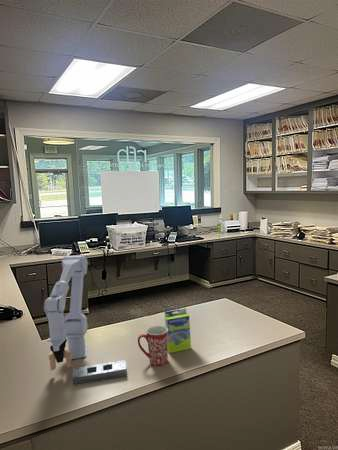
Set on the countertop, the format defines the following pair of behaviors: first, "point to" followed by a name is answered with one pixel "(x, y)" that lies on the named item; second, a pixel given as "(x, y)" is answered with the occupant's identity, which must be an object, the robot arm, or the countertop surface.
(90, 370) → the gray slotted board
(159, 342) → the mug
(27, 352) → the countertop surface
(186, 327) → the box
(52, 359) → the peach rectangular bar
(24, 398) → the countertop surface
